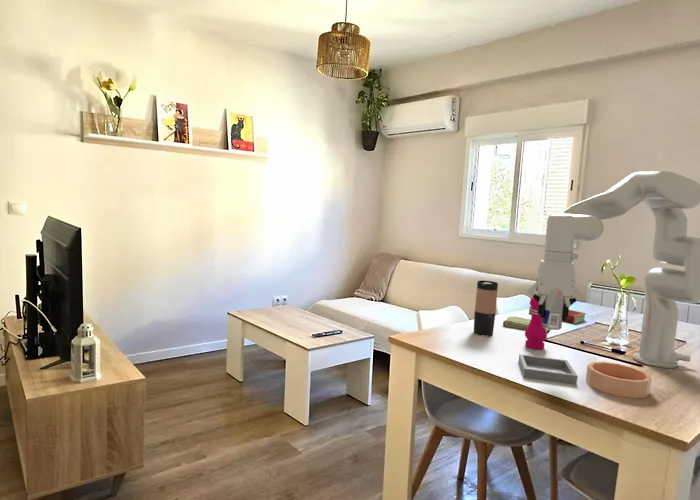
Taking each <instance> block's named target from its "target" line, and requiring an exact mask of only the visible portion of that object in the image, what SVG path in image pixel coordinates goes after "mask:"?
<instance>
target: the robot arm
mask: <svg viewBox="0 0 700 500" xmlns="http://www.w3.org/2000/svg"><path fill="white" fill-rule="evenodd" d="M641 202H643V203H644V204H645V205H646V206H647V207H648V208H649V210H650V211H651V212H652V214H653V216H654V220H655V225H654V226H655V228H654V235H653V236H654V238H653V244H652V245H653V246H652V247H653V248H652V255H653V259H654V260H655V261H656V262H658V263H660V264H665V265H669V266H670V265H672V266H677V267H678V266H679V267H684V270H680V269H674V268H669V267H654V268H652V269H650V270H648V271H647V272H646V274H645V275H644V277H643V286H644V287H643V289H644V308H643V315H642V322H641V323H642V325H641V330H640V331H641V332H640V340H639V346H638V347H639V349H638V352H634V353H633V354H632V358H633V360H635V361H637V362H638V363H642V364H644V365H647V366H652V367H657V368H662V369H663V368H664V369H674V368H677V367H678V365H679V363H678V362H679V361H682V362H690V361H691V356H690V355H688V354H687V355H686V354H683V353H679V352H676V351H675V344H676V338H677V337H676V335H677V328H678V321H679V315H680V314H679V308H678V305H677V303H676V301H679V302H680V301H681V302H685V303H691V304H697V303H700V237H698V236H688V218H687V214H686V213H685V211H684V210H690V209H693V208H694V209H695V208H696V207H697V206H699V205H700V183H699V182H698V181H696V180H694V179H692V178H690V177H686V176H684V175H681V174H679V173H676V172H672V171H668V170H648V171H647V170H646V171H645V170H644V171H643V170H641V171H635V172H633V173H631V174H630V175H629V174H628V176H626V177H625V178H624V179H622V180H620V181H619V182H618V183H617V184H615V185H613V186H612V187H611V188H609V189H608V190H607V191H605V192H603V193H600V194H597V195H594V196H592V197H589V198H587V199H585V200H582V201H579V202H577V203H575V204H573V205H570V206H569V207H567V208H566V209H565V210H563V211H562V212H561V213H559V214H555V213H554V214H550V215H549V216H548V217H547V219H546V220H547V221H546V230H545V231H546V232H545V233H546V234H545V244H544V251H543V253H544V255H543V259H541V260H540V262H539V265H538V269H537V276H536V280H535V281H536V282H534V284H532V285H531V286H530V287H529V288H528V289H527V293H528V294H529V295H530V296H531V298H532V297H533V298H534V299H535V300H536V301H537V302H538V303H539V304H538V314H539V315H540V317H541V318H544V308H545V305H544V300H545V298H546V296H547V295H549V294H550V291H551V290H553V289H560V290H561V291H562V296H563V297H564V307H563V317H562V319H563V320H566V317H568V312H569V310H570V307H571V306H573V304H575V303H576V302H577V301H579V300H580V299H582V298H583V297H584V295H583V294H582V292H581V291H580V289H578V287H577V286H576V269H575V268H576V267H575V266H576V265H575V263H574V262H573V261H574V260H578V259H579V255H578V254H575V253H574V247H575V246H574V243H575V240H576V241H582V242H593V241H596V240H597V239H599V238H600V237H601V236H602V235H603V233H604V230H605V229H604V223H603V222H602V221H603V220H609V219H614V218H619V217H621V216H623V215H625V214H627V213H628V212H630V210H632V209H633V208H635V207H636V206H637V205H638V204H640V203H641ZM535 291H536V292H537V293H539V294H540V296H539V297H538V295H537V293H535Z"/></svg>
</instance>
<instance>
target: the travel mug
mask: <svg viewBox="0 0 700 500" xmlns="http://www.w3.org/2000/svg"><path fill="white" fill-rule="evenodd" d="M498 285H499V283H498V282H497V281H492V280H477V283H476V295H475V304H474V305H475V306H474V315H473V316H474V319H473V333H474V334H475V335H476V336H477V335H478V336H483V337H492V336H493V335H494V329H495V319H496V311H497V300H498V289H499V288H498V287H499V286H498Z"/></svg>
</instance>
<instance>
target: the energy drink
mask: <svg viewBox="0 0 700 500" xmlns="http://www.w3.org/2000/svg"><path fill="white" fill-rule="evenodd" d="M544 305H545V308H544V318H542V326H543V327H544V328H547V329H549V330H553V331H559V330H560V331H561V329H562V327H563V321H562V317H563V307H564V297H563V296H562V291H561V290H560V289H553V290H551V291H550V294H549V295H547V296H546V298H545V300H544Z"/></svg>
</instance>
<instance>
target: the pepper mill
mask: <svg viewBox="0 0 700 500" xmlns="http://www.w3.org/2000/svg"><path fill="white" fill-rule="evenodd" d="M536 294H537V296H538V297H539V296H540V294H539V293H538V292H537V293H536ZM538 304H539V303H538V302H537V301H536V300H535V299H534V298H533V297H532V296H531V298H530V299H529V305H530V306H531V307H532V308H531V311H530V312H531V313H532V314H531V317H530V319H531V321H530V323H529V325H528V327H527V328H526V330H524V336H525V338H526V340H525V343H524V345H525V347H527V348H529V349H532V350H544V349H545V343H544V342H545V341H546V340H547V339H548V335H547V333H546V329H545V328H544V327H543V326H542V318H541V317H540V315H539V314H538Z"/></svg>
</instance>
